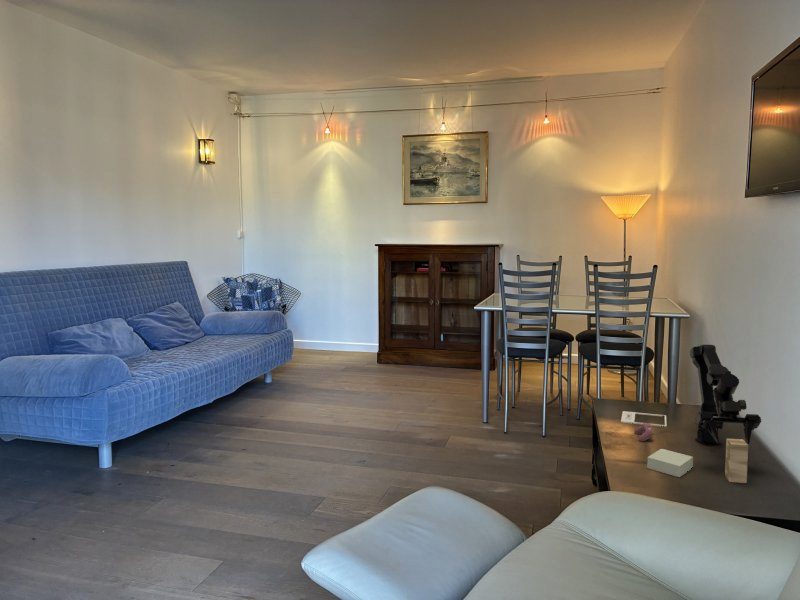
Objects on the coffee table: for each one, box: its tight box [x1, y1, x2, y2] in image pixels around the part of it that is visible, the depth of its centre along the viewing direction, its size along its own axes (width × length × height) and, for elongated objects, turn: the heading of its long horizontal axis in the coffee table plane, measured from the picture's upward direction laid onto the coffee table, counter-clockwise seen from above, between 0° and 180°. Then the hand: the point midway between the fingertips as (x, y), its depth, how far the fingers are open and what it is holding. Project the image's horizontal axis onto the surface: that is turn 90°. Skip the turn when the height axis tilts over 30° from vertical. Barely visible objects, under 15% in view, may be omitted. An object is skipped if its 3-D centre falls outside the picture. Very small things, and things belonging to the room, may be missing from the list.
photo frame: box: [620, 410, 667, 428], centre depth 250 cm, size 15×1×18 cm
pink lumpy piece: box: [633, 422, 655, 442], centre depth 228 cm, size 10×5×7 cm, turn 169°
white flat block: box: [646, 448, 694, 478], centre depth 200 cm, size 11×11×4 cm
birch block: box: [724, 438, 749, 484], centre depth 189 cm, size 5×5×13 cm
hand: (733, 443), depth 192 cm, fingers open, 9 cm apart
